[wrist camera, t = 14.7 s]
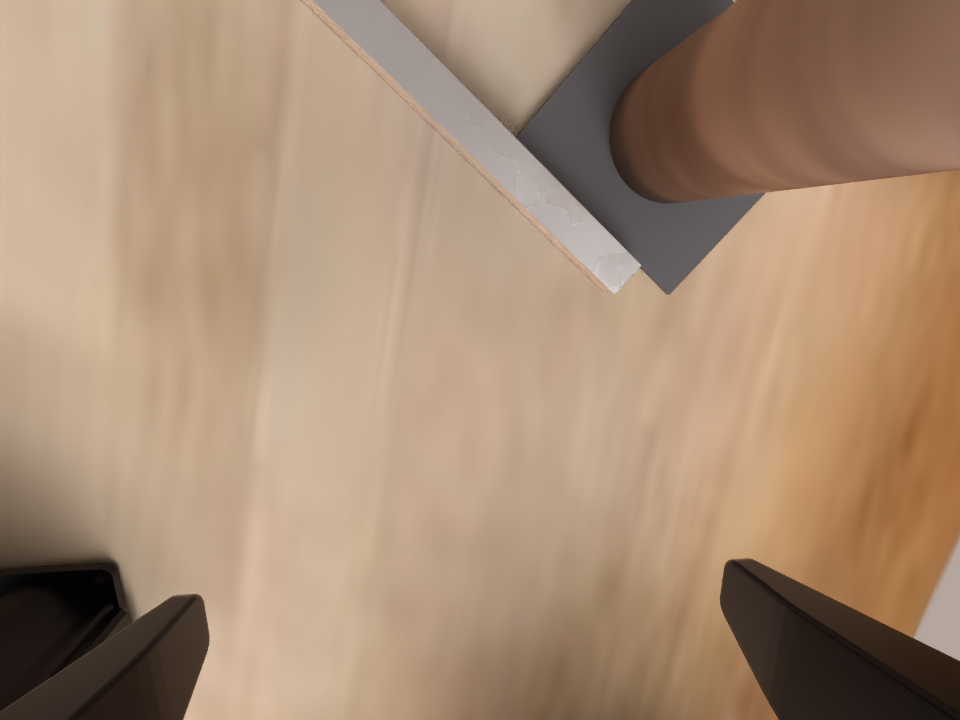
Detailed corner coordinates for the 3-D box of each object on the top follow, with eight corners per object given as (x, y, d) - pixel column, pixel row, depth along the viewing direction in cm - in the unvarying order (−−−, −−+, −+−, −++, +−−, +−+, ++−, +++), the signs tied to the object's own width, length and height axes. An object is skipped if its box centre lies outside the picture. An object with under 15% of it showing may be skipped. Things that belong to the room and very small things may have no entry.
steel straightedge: (237, -63, 16) (218, -92, 15) (264, -101, 16) (247, -134, 15) (601, 290, 21) (614, 294, 19) (626, 263, 20) (641, 265, 19)
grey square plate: (514, 140, 19) (515, 138, 18) (680, -56, 18) (684, -61, 17) (665, 293, 21) (669, 294, 21) (823, 127, 20) (829, 125, 19)
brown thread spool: (606, 204, 19) (938, 153, 7) (613, 57, 18) (1039, -341, 5) (729, 202, 20) (1247, 151, 7) (744, 59, 18) (1409, -301, 6)
